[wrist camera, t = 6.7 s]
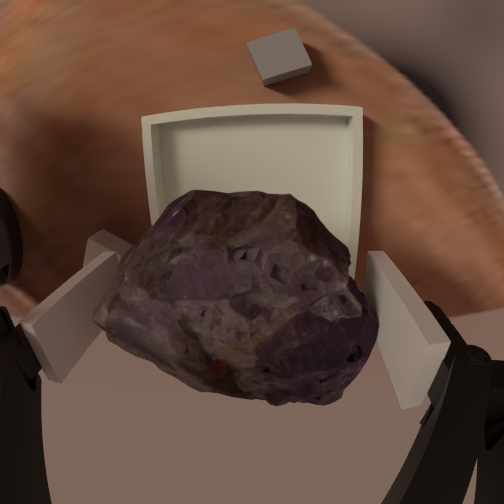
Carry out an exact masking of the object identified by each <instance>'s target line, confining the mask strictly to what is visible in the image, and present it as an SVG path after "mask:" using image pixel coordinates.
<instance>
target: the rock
mask: <svg viewBox="0 0 504 504" xmlns="http://www.w3.org/2000/svg"><path fill="white" fill-rule="evenodd" d="M350 257H351V255H350V252H349V249H348V247H347V246H346V245H345V244H343V243H342V242H341V241H340V240H339V239H337V238H336V237H335V236H334V235H333V234H332V233H331V232H330V231H329V230H328V229H327V228H326V227H325V225H324V224H323V223H322V222H321V221H320V219H319V218H318V216H317V215H316V213H315V212H314V210H313V209H311V208H310V207H309V206H308V205H307V204H305V203H303V202H301V201H299V200H297V199H296V198H295V197H294V196H292V195H291V194H267V193H264V192H261V191H242V192H233V193H224V192H217V191H208V190H195V189H194V190H191V191H189V192H187V193H186V194H184V195H182V196H180V197H178V198H177V199H175V200H174V201H172V202H171V203H169V205H168V206H167V207H166V208H165V210H164V211H163V213H162V214H161V215H160V217H159V218H158V220H157V221H156V222H155V223H154V225H153V226H152V227H150V228H149V229H148V230H147V231H146V232H145V233H144V234H143V235H142V236H141V237H140V238H139V239H138V240H137V241H136V242H135V244H134V245H133V246H132V248H131V249H130V250H129V251H127V252H126V253H125V254H124V255H123V256H122V257H121V260H120V263H119V266H118V268H117V270H116V273H115V275H114V276H113V278H112V280H111V282H110V284H109V286H108V288H107V289H106V291H105V293H104V295H103V296H102V298H101V300H100V302H99V304H98V306H97V307H96V309H95V311H94V312H93V322H94V323H95V324H97V325H98V326H99V327H100V328H102V329H103V330H104V331H105V332H106V335H107V338H108V340H109V341H110V342H112V343H114V344H116V345H118V346H119V347H121V348H122V349H124V350H125V351H127V352H129V353H131V354H133V355H135V356H137V357H140V358H143V359H146V360H148V361H151V362H153V363H154V364H155V365H156V366H157V367H158V368H159V369H161V370H162V371H164V372H166V373H167V374H170V375H172V376H174V377H176V378H177V379H179V380H180V381H182V382H183V383H185V384H186V385H188V386H190V387H191V388H193V389H195V390H197V391H200V392H213V393H219V394H223V395H227V396H231V397H237V398H243V399H250V400H252V399H260V400H266V401H267V402H268V403H269V404H271V405H275V406H279V405H283V404H286V403H288V402H293V403H296V402H301V403H312V404H316V405H328V404H331V403H333V402H335V401H336V400H338V399H340V398H341V397H342V394H343V391H344V389H345V388H346V387H347V386H348V385H349V384H350V383H351V382H352V381H353V380H354V379H355V377H356V376H357V375H358V374H359V373H360V371H361V370H362V368H363V366H364V364H365V363H366V361H367V360H368V358H369V356H370V353H371V351H372V349H373V346H374V344H375V342H376V340H377V336H378V330H379V322H378V320H377V318H376V316H375V315H374V313H373V312H372V310H371V309H370V307H369V305H368V304H367V301H366V298H365V296H364V294H363V293H361V292H360V291H359V290H358V289H357V286H356V283H355V281H354V279H353V278H352V277H351V276H349V266H350V264H351V261H350Z"/></svg>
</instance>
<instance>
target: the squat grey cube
mask: <svg viewBox="0 0 504 504" xmlns="http://www.w3.org/2000/svg"><path fill="white" fill-rule="evenodd" d="M246 45H247V48H248V50H249V53H250V55H251V58H252V60H253V62H254V64H255V67H256V69H257V71H258V73H259V76H260V78H261V80H262V83H263V85H264V86H267V85H270V84H273V83H276V82H279V81H282V80H286V79H289V78H292V77H295V76H299V75H302V74H306V73H309V71H310V69H311V67H312V63H311V61H310V58H309V56H308V54H307V52H306V50H305V48H304V45H303V43H302V41H301V39H300V37H299V35H298V33H297V31H296V29H295V28H292V29H288V30H285V31H281V32H278V33H274V34H271V35H268V36H264V37H261V38H258V39H255V40H252V41H249V42H246Z"/></svg>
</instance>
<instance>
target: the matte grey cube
mask: <svg viewBox="0 0 504 504" xmlns="http://www.w3.org/2000/svg"><path fill="white" fill-rule="evenodd" d="M132 246H133V245H132V244H130V243H128V242H126V241H125V240H123V239H121V238H119V237H117V236H115V235H113V234H111V233H110V232H108V231H106V230H104V229H102V230H100V231H98V232H97V233H95V234H93V235H92V236H90V237H89V238H88V241H87V246H86V251H85V256H84V262H83V267H85V266H86V265H87V264H89V263H90V262H91V261H92V260H94V259H95V258H96V257H98V256H99V255H100V254H102V253H103V252H116V254H117V259H118V263H120V260H121V257H122V256H123V255H124V254H125V253H126V252H127V251H129V250H130V249H131V248H132Z"/></svg>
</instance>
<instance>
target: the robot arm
mask: <svg viewBox="0 0 504 504" xmlns="http://www.w3.org/2000/svg"><path fill="white" fill-rule="evenodd" d="M21 262H22V244H21V237H20V232H19V228H18V224H17V221H16V218H15V215H14V212H13V210H12V207H11V205H10V203H9V201H8V200H7V198H6V196H5V195H4V194H3V192H2V191H1V190H0V286H3V285H5V284H7V283H8V282H10V281H11V280H12V279H14V278H15V277H16V276H17V274H18V273H19V270H20V267H21ZM118 266H119V263H118V259H117V254H116V252H103V253H102V254H100V255H99V256H98V257H96V258H95V259H94V260H92V261H91V262H90V263H89V264H87V265H86V266H85V267H84V268H82V269H81V270H80V271H78V272H77V273H76V274H75V275H73V276H72V277H71V278H70V279H69V280H67V281H66V282H65V283H64V284H62V285H61V286H60V287H59V288H58V289H56V290H55V291H54V292H53V293H52V294H51V295H49V296H48V297H47V298H46V299H45V300H44V301H42V302H41V303H40V304H39V305H38V306H37V307H36V308H34V309H33V310H32V311H31V312H30V313H29V314H28V315H27V316H26V317H24V318H23V319H22V320H21V321H20V323H19V324H18V325H17V326H16V327H14V325H13V322H12V320H11V317H10V315H9V312H8V310H7V308H6V307H3V306H0V504H52V503H51V498H50V493H49V488H48V482H47V475H46V468H45V460H44V451H43V439H42V420H41V378H40V376H39V374H38V372H39V371H40V370H41V368H42V369H43V371H44V373H45V375H46V376H47V378H48V379H49V380H52V381H55V382H58V383H62V382H63V380H64V379H65V378H66V376H67V375H68V373H69V372H70V371H71V369H72V368H73V367H74V365H75V364H76V363H77V361H78V360H79V359H80V357H81V356H82V355H83V354H84V352H85V351H86V350H87V348H88V347H89V345H90V344H91V343H92V342H93V341H94V339H95V338H96V337H97V336H98V334H99V333H100V332H101V331H102V328H100V327H99V326H98V325H97V324H95V323H94V322H93V312H94V311H95V309H96V307H97V306H98V304H99V302H100V300H101V298H102V296H103V295H104V293H105V291H106V289H107V288H108V286H109V284H110V282H111V280H112V278H113V276H114V275H115V273H116V270H117V268H118ZM363 294H364V296H365V298H366V301H367V304H368V305H369V307H370V309H371V310H372V312H373V313H374V315H375V316H376V318H377V320H378V322H379V330H378V336H377V340H376V342H377V344H378V347H379V350H380V352H381V354H382V357H383V360H384V363H385V365H386V368H387V371H388V373H389V376H390V379H391V382H392V385H393V387H394V390H395V393H396V396H397V399H398V402H399V405H400V408H401V409H402V410H403V409H408V408H414V407H419V406H422V404H423V402H424V400H425V398H426V396H427V394H428V396H429V398H430V401H431V404H430V406H429V408H428V410H427V411H426V413H425V415H424V417H423V418H422V420H421V422H420V424H422V425H421V427H420V430H419V432H418V434H417V437H416V439H415V441H414V443H413V445H412V448H411V450H410V452H409V454H408V456H407V458H406V460H405V462H404V464H403V466H402V468H401V470H400V472H399V474H398V476H397V477H396V479H395V481H394V483H393V485H392V486H391V488H390V490H389V492H388V493H387V495H386V497H385V498H384V500H383V502H382V503H381V504H462V503H463V500H464V498H465V495H466V492H467V489H468V486H469V483H470V480H471V477H472V473H473V470H474V467H475V463H476V460H477V479H476V480H477V481H476V491H475V501H474V504H504V361H501V360H500V361H499V360H491V357H490V356H489V354H488V353H487V352H486V351H485V350H484V349H482V348H480V347H477V346H475V345H467V344H466V342H465V341H464V340H463V338H462V337H461V335H460V334H459V332H458V331H457V330H456V328H455V327H454V326H453V324H451V322H450V320H449V319H448V318H447V317H446V315H445V314H444V312H443V311H442V310H441V308H440V307H438V306H437V305H435V304H434V303H432V302H431V301H424V302H423V301H422V300H421V298H420V297H419V295H418V294H417V293H416V291H415V290H414V289H413V288H412V286H411V285H410V284H409V282H408V281H407V280H406V278H405V277H404V276H403V275H402V273H401V272H400V271H399V269H398V268H397V267H396V266H395V264H394V263H393V262H392V261H391V260H390V258H389V257H388V256H387V255H386V253H385V252H384V251H368V255H367V264H366V271H365V279H364V286H363Z"/></svg>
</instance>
